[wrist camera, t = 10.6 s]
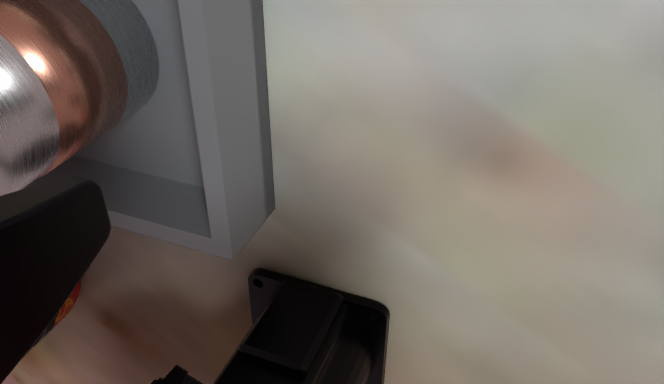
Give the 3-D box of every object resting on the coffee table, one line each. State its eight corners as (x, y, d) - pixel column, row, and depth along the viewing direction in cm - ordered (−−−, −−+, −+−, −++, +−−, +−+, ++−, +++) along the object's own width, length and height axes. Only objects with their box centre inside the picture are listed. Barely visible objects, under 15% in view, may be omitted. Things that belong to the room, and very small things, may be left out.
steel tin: (171, 125, 23) (36, 229, 18) (55, 100, 25) (-99, 188, 20) (145, -27, 20) (-28, 46, 15) (14, -43, 22) (-184, 16, 16)
